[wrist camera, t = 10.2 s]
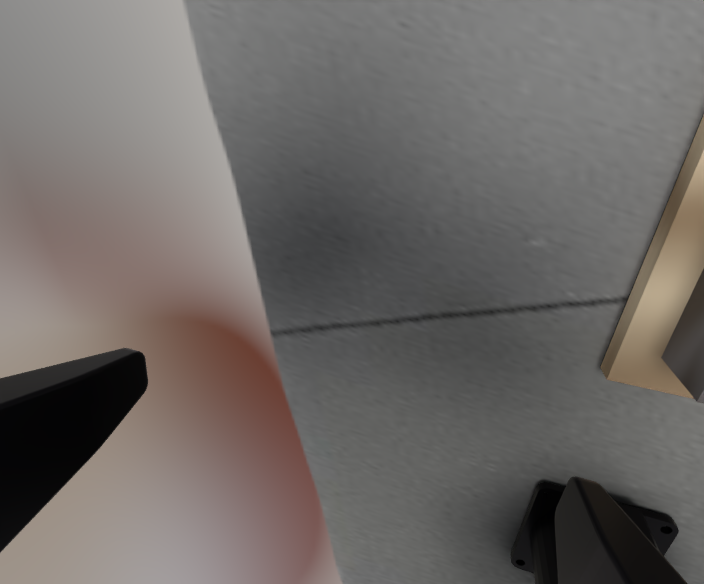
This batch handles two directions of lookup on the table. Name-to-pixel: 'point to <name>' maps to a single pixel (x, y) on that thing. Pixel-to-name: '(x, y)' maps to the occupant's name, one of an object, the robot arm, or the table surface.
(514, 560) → the robot arm
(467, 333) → the table surface
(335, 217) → the table surface
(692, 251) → the dock
